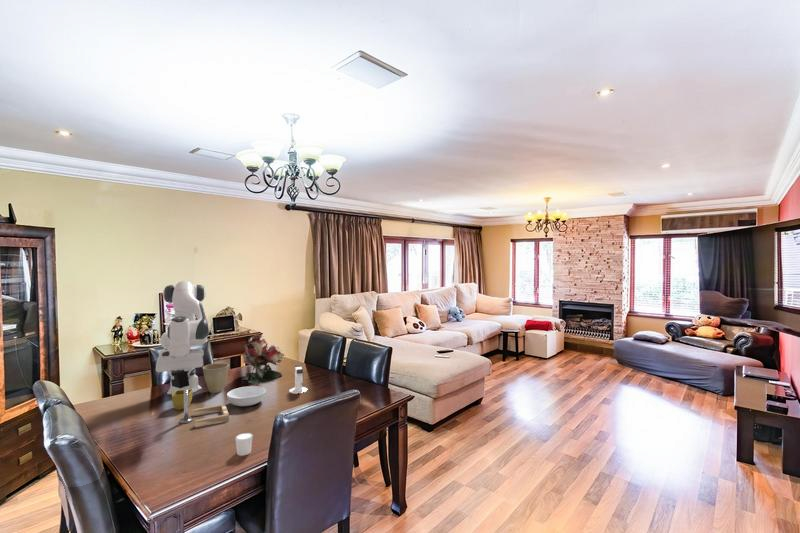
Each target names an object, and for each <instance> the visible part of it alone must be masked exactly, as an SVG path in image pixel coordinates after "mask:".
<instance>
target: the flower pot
mask: <svg viewBox="0 0 800 533" xmlns="http://www.w3.org/2000/svg"><path fill="white" fill-rule="evenodd" d="M193 394H194V392H193V389H188V407H189V406H190V405H191V402H192V400H193ZM171 401H172V405H173V408H175V410H177V411H179V410H180V411H181V410H184V390H177V391H175V392H174V393H173V395H172V394H171Z"/></svg>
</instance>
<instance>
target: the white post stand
mask: <svg viewBox="0 0 800 533" xmlns="http://www.w3.org/2000/svg"><path fill="white" fill-rule="evenodd" d="M303 380H304V370H303V368H302V365H300V364H296V365H295V367H294V387H292V388H290V389H289V393H290V394H295V395H297V394H298V393H299V394H303V392H304V393H306V392H308V391H307V390H309V389H308V388H307V387H304V383H303Z"/></svg>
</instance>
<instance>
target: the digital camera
mask: <svg viewBox="0 0 800 533" xmlns="http://www.w3.org/2000/svg"><path fill="white" fill-rule="evenodd" d="M171 374H172V375H173V376H174V379H172V380H171V376H170V375H169V376H170V381H171V383H172V386H174V387H177V388H180V389H181V388H183V387H186V386H189V380H188V374H187V372H186V371H184V370H176V371H174V370H172V371H171Z"/></svg>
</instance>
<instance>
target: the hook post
mask: <svg viewBox="0 0 800 533" xmlns="http://www.w3.org/2000/svg"><path fill="white" fill-rule="evenodd" d="M193 421H194V418H193V417H192V416H191V417H190V416H189V406H188V390H184V409H183V418H181V419H179V422H178V423H179V424H183V425H184V424H190V423H191V422H193Z"/></svg>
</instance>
